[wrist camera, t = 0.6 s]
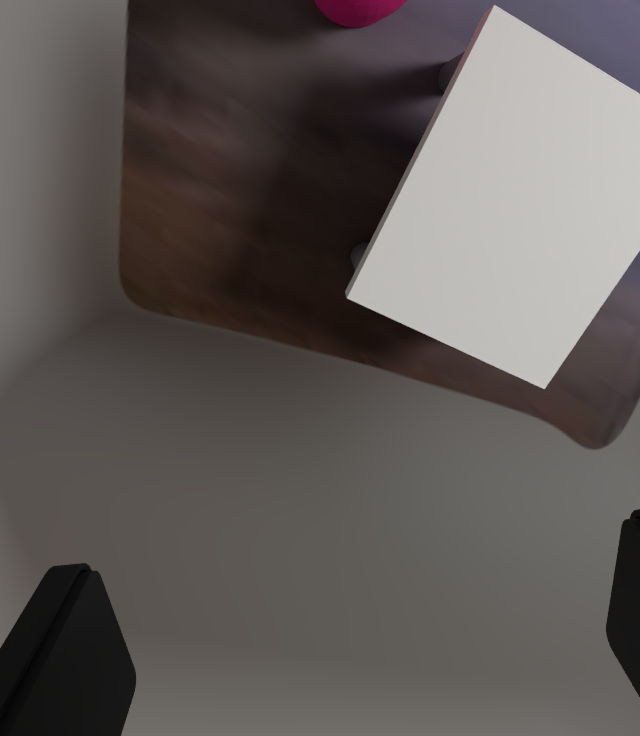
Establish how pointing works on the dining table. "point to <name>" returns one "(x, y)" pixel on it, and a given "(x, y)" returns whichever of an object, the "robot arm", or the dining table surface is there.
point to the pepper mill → (357, 11)
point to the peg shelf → (511, 204)
